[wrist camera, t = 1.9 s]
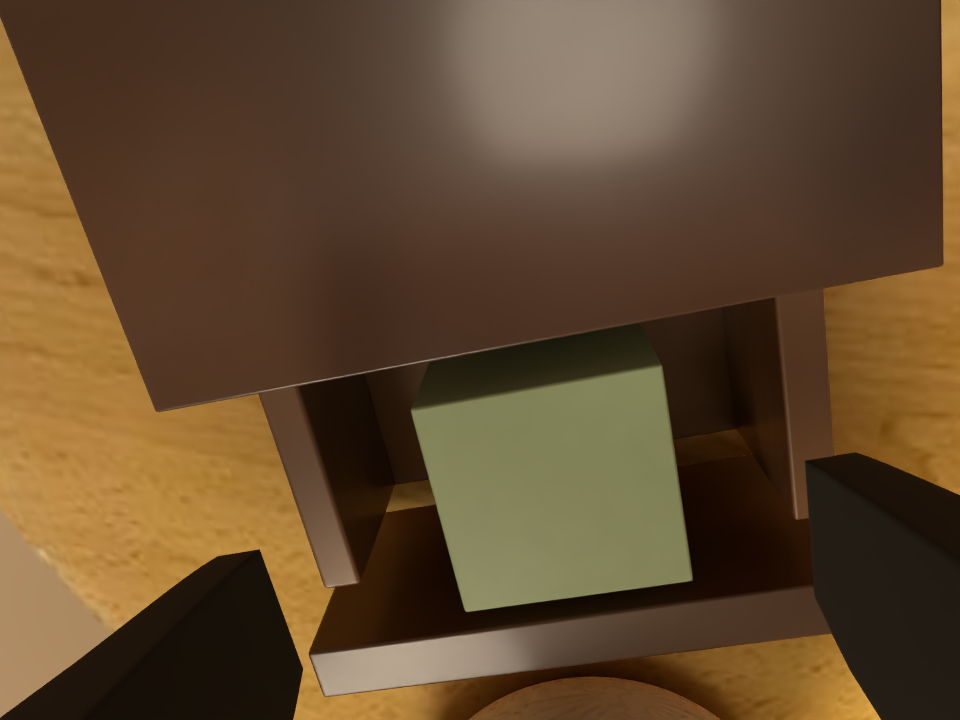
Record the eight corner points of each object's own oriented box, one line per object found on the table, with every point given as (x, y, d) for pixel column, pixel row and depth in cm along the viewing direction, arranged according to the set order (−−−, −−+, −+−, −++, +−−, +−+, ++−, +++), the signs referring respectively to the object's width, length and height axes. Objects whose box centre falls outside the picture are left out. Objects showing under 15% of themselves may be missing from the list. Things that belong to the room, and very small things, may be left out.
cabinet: (782, 204, 17) (945, 266, 10) (288, 304, 19) (155, 413, 12) (743, -279, 14) (938, -629, 7) (158, -109, 16) (-116, -270, 9)
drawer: (795, 527, 19) (891, 677, 14) (385, 587, 20) (338, 741, 15) (763, 157, 16) (870, 180, 11) (283, 258, 17) (185, 319, 12)
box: (654, 469, 17) (693, 581, 13) (479, 496, 18) (464, 613, 14) (628, 297, 16) (662, 364, 12) (438, 334, 17) (409, 409, 12)
